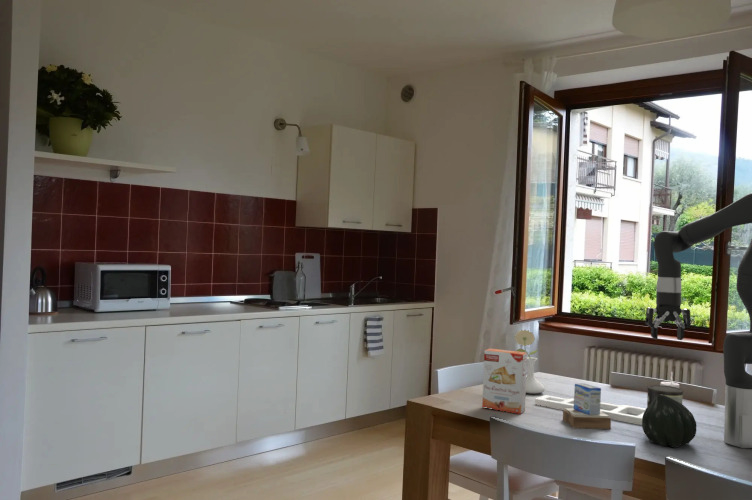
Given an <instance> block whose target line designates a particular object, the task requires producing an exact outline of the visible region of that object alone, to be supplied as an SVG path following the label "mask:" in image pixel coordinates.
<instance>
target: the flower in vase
mask: <svg viewBox="0 0 752 500" xmlns="http://www.w3.org/2000/svg"><path fill="white" fill-rule="evenodd" d="M514 340H515V341H516V344H518V345H521V346H523V347H526V346H531V345H533V344H534V342H535V341H536V338H535V335H534V334H533V332H531V331H530V330H526V329H524V330H523V329H521V330H519V331H516V334H515V335H514ZM516 351H517V352H526V353H527V374H526V394H541V393H543V392H545V391H546V389H545V387H544V385H543V384H542V383H541V382H540V381H538V379H536V377H535V372H534V371H535V365H536V362H537V361H538V357H532V356H530V355H534V354H536V353H537V352H538V351H539V349H536V350H533V351H530V352H529V353H528V351H527V350H526V348H523V349H522V348H517V350H516Z"/></svg>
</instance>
